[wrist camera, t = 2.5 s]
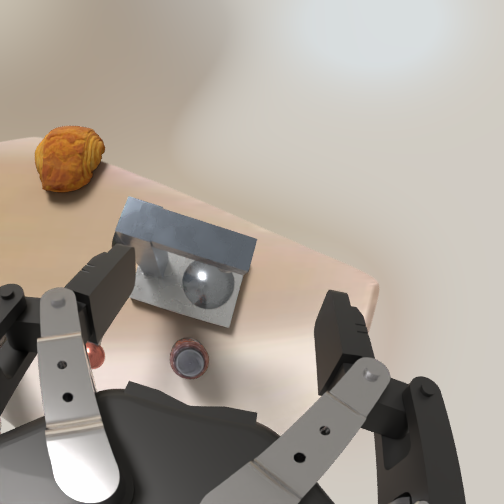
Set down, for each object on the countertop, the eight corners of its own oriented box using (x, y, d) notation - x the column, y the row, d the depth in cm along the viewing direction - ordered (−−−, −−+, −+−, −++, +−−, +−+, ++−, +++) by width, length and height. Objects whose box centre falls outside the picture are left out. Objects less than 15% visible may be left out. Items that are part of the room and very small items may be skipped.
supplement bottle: (188, 330, 52) (191, 333, 42) (211, 355, 52) (220, 364, 42) (163, 352, 51) (160, 361, 40) (187, 377, 51) (190, 391, 40)
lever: (104, 370, 35) (97, 375, 32) (80, 361, 34) (71, 364, 31) (143, 236, 40) (140, 229, 37) (119, 228, 40) (115, 220, 36)
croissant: (54, 139, 55) (39, 119, 48) (113, 136, 56) (102, 113, 49) (34, 197, 52) (15, 181, 44) (95, 199, 53) (79, 180, 45)
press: (227, 327, 54) (276, 334, 28) (130, 297, 51) (85, 276, 25) (245, 259, 58) (305, 207, 31) (152, 229, 55) (136, 151, 28)
